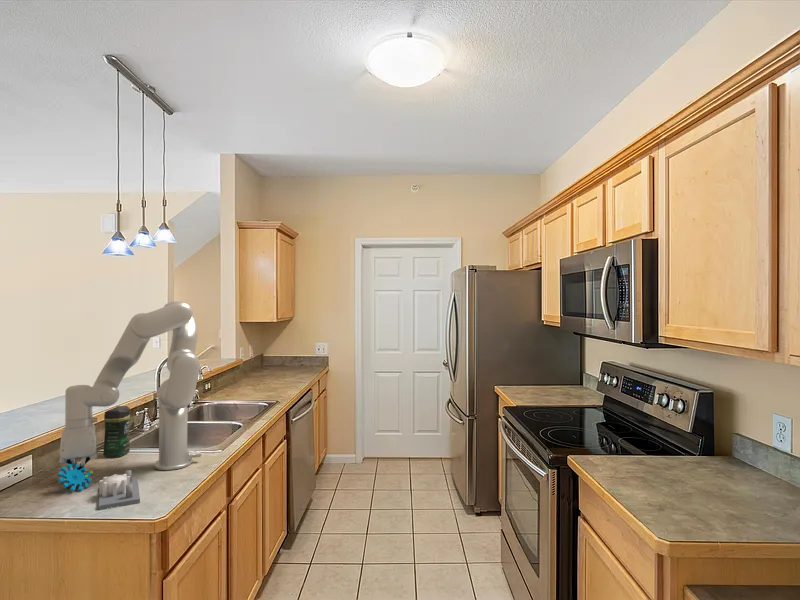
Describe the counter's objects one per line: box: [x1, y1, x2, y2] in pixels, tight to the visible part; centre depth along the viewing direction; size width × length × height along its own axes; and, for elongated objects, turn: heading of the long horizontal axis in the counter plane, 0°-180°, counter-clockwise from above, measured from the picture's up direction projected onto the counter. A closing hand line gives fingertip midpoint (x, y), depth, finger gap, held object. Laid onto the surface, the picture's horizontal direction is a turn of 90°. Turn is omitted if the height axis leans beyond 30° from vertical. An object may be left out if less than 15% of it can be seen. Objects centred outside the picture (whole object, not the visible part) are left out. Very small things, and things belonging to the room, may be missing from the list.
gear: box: [57, 463, 94, 492], centre depth 159 cm, size 11×6×10 cm
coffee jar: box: [103, 405, 131, 459], centre depth 193 cm, size 10×8×19 cm
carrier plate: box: [98, 469, 141, 511], centre depth 154 cm, size 11×20×5 cm, turn 30°
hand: (78, 477), depth 164 cm, fingers closed
